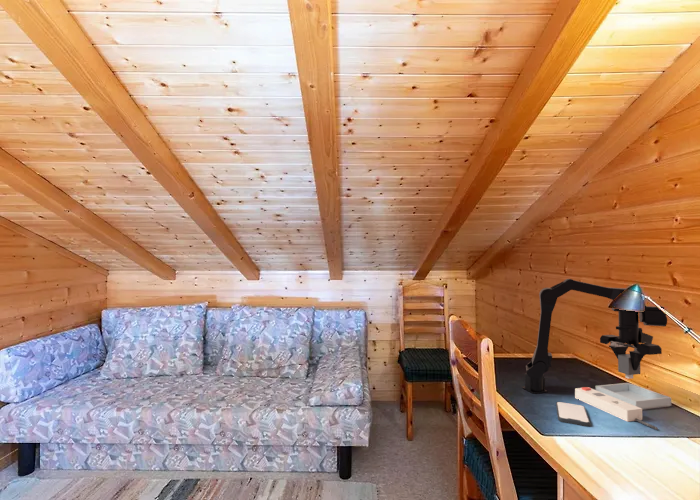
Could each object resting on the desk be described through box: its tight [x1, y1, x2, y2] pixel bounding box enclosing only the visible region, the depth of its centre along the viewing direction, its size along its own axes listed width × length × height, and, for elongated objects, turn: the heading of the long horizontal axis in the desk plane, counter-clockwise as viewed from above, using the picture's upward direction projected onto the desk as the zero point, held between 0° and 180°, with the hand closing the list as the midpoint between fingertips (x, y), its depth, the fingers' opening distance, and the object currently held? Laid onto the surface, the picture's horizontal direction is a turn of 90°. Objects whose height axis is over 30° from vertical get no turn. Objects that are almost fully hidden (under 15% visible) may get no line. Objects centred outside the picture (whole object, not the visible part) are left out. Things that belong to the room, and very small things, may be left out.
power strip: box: [574, 386, 659, 431], centre depth 125 cm, size 27×6×4 cm, turn 14°
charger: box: [617, 353, 641, 380], centre depth 133 cm, size 4×5×8 cm
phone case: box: [555, 401, 591, 428], centre depth 123 cm, size 9×2×16 cm
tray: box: [595, 382, 672, 411], centre depth 136 cm, size 16×16×3 cm
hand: (629, 368), depth 133 cm, fingers closed on charger, 4 cm apart
